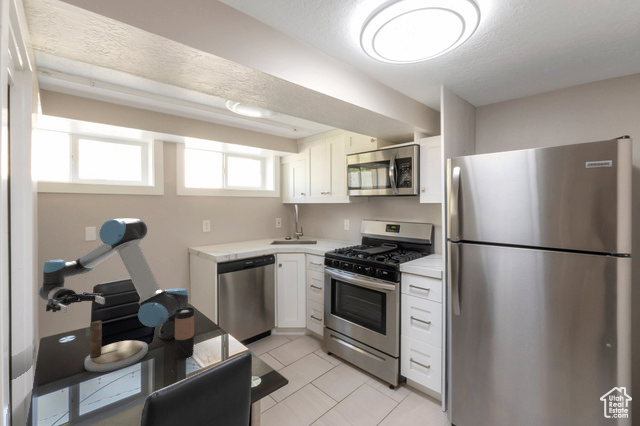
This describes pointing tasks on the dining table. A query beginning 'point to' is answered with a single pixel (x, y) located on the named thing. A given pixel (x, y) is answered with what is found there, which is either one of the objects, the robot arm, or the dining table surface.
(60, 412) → the dining table surface
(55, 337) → the dining table surface
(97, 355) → the dial
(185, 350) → the travel mug
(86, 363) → the base
